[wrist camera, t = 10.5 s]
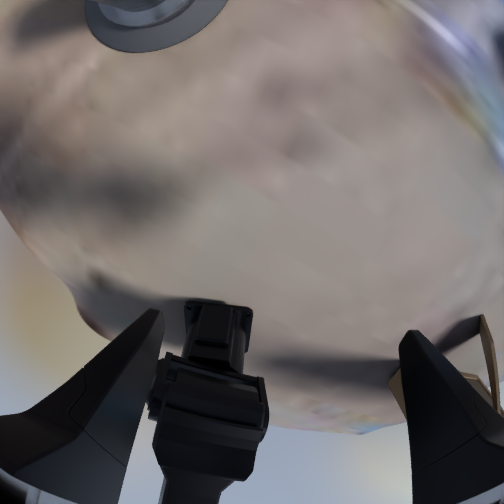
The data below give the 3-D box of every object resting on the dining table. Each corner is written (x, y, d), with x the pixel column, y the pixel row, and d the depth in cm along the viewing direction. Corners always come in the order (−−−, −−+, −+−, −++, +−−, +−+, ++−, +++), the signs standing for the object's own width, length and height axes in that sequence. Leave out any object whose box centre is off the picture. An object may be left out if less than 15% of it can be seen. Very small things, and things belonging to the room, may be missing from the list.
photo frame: (460, 389, 38) (491, 503, 17) (385, 377, 34) (414, 547, 13) (518, 335, 30) (569, 454, 9) (464, 302, 26) (541, 496, 5)
